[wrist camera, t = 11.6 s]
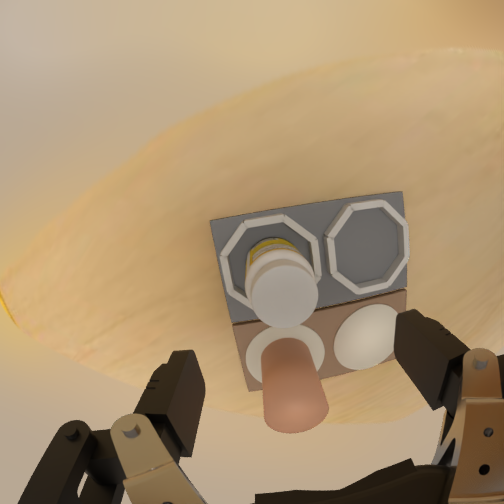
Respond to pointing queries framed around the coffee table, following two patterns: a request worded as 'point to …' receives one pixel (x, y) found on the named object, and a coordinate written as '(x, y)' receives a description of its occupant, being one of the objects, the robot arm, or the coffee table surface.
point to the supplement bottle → (280, 283)
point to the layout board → (319, 299)
